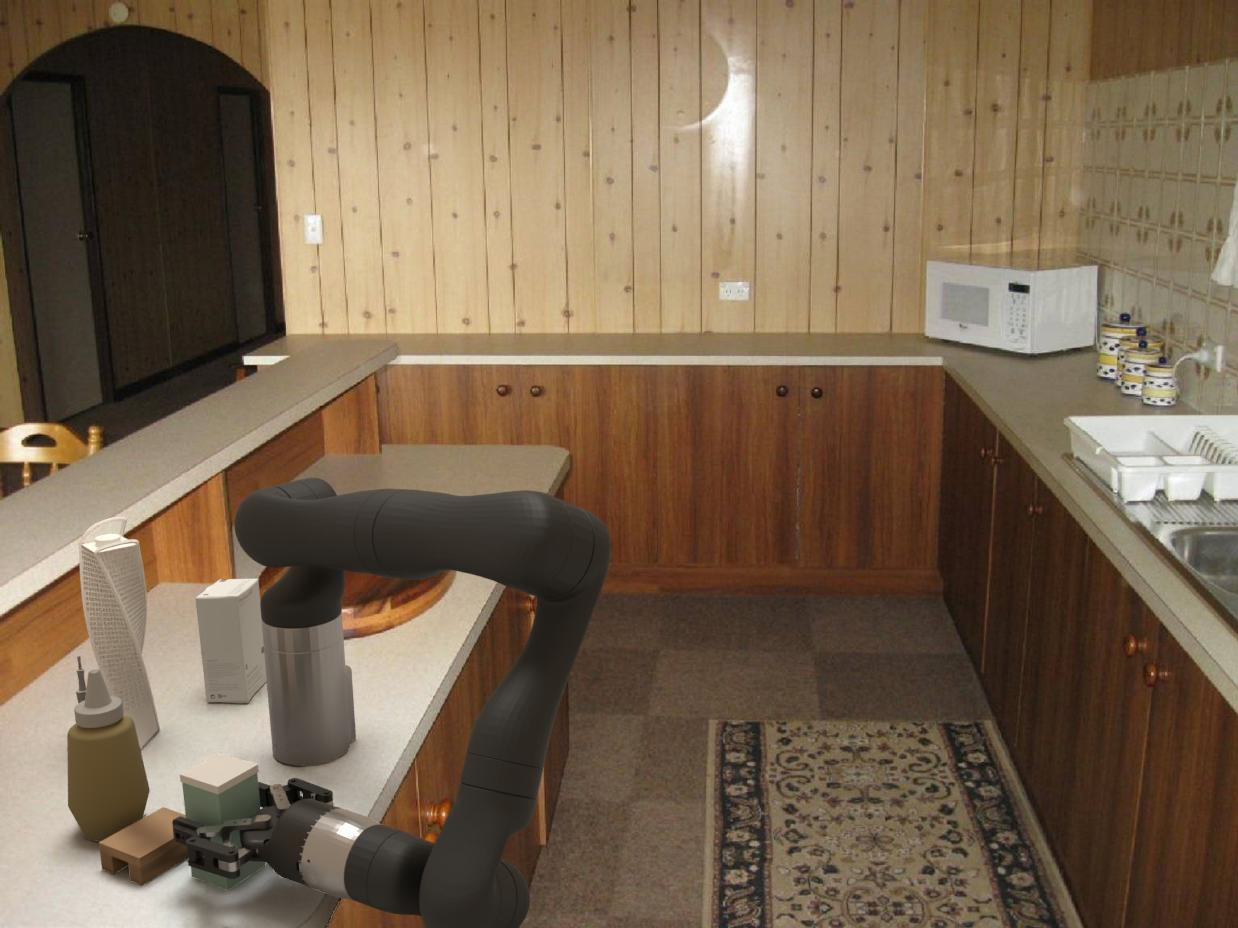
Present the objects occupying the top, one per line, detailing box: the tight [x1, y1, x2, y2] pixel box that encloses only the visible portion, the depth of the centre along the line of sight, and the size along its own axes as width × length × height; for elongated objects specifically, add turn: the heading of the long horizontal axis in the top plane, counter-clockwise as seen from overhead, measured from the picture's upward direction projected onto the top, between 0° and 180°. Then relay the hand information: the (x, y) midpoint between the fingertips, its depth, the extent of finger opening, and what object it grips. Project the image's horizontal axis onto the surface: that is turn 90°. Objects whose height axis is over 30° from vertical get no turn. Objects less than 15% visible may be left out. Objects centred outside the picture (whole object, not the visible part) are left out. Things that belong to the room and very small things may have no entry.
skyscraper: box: [75, 516, 161, 751], centre depth 150 cm, size 8×8×28 cm
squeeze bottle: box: [66, 669, 151, 842], centre depth 131 cm, size 8×8×18 cm
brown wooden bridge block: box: [98, 806, 188, 886], centre depth 127 cm, size 8×6×3 cm
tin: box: [179, 752, 266, 892], centre depth 123 cm, size 5×5×11 cm
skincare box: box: [195, 578, 267, 704], centre depth 165 cm, size 8×6×15 cm
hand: (209, 807), depth 124 cm, fingers open, 8 cm apart
